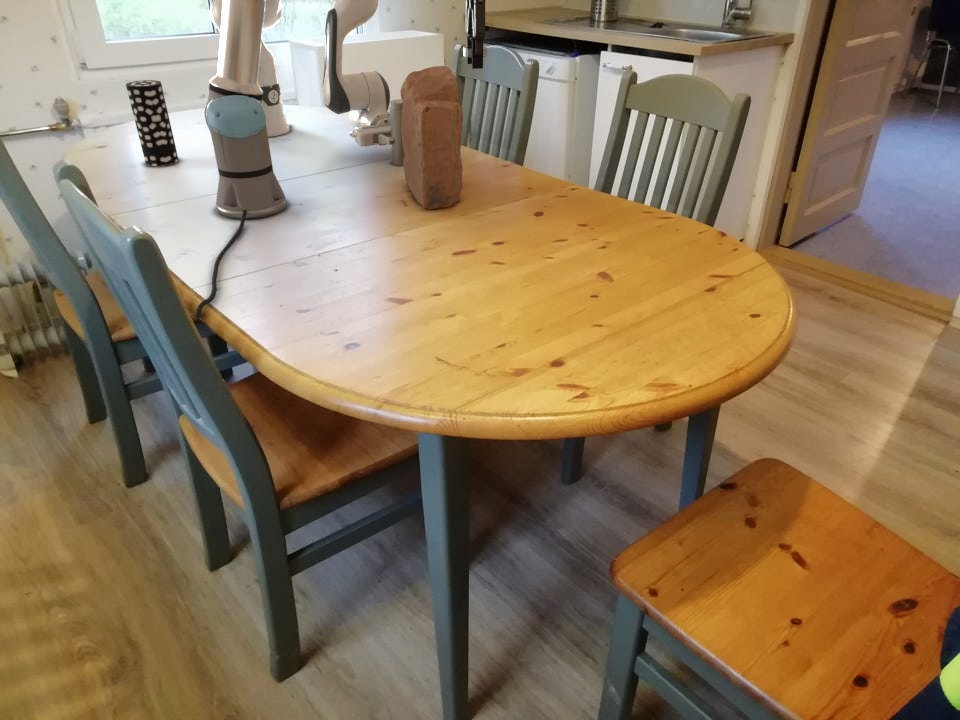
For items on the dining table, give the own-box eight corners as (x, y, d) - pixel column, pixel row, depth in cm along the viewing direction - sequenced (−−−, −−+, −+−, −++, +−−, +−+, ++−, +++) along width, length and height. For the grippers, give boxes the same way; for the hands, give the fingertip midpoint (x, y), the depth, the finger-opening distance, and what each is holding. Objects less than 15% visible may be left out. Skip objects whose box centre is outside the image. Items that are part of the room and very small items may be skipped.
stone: (472, 206, 159) (470, 76, 145) (424, 211, 156) (418, 79, 142) (446, 181, 177) (443, 63, 162) (403, 185, 174) (396, 65, 159)
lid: (473, 52, 177) (473, 44, 176) (491, 55, 174) (491, 47, 173) (458, 55, 173) (458, 47, 172) (476, 58, 170) (476, 49, 169)
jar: (409, 166, 186) (406, 104, 177) (390, 165, 187) (386, 102, 178) (414, 160, 190) (412, 99, 181) (396, 159, 191) (392, 98, 182)
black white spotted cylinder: (184, 157, 190) (167, 80, 179) (169, 166, 183) (151, 87, 172) (155, 156, 190) (136, 79, 179) (139, 165, 183) (119, 86, 172)
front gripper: (499, -38, 155) (497, 72, 167) (483, -42, 170) (482, 59, 183) (466, -37, 154) (467, 73, 166) (453, -42, 169) (454, 59, 182)
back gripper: (345, 121, 188) (365, 132, 178) (413, 112, 197) (435, 123, 187) (348, 144, 191) (367, 157, 181) (414, 135, 200) (436, 146, 190)
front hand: (475, 65), depth 175 cm, fingers closed on lid, 6 cm apart
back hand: (402, 139), depth 184 cm, fingers closed on jar, 5 cm apart
